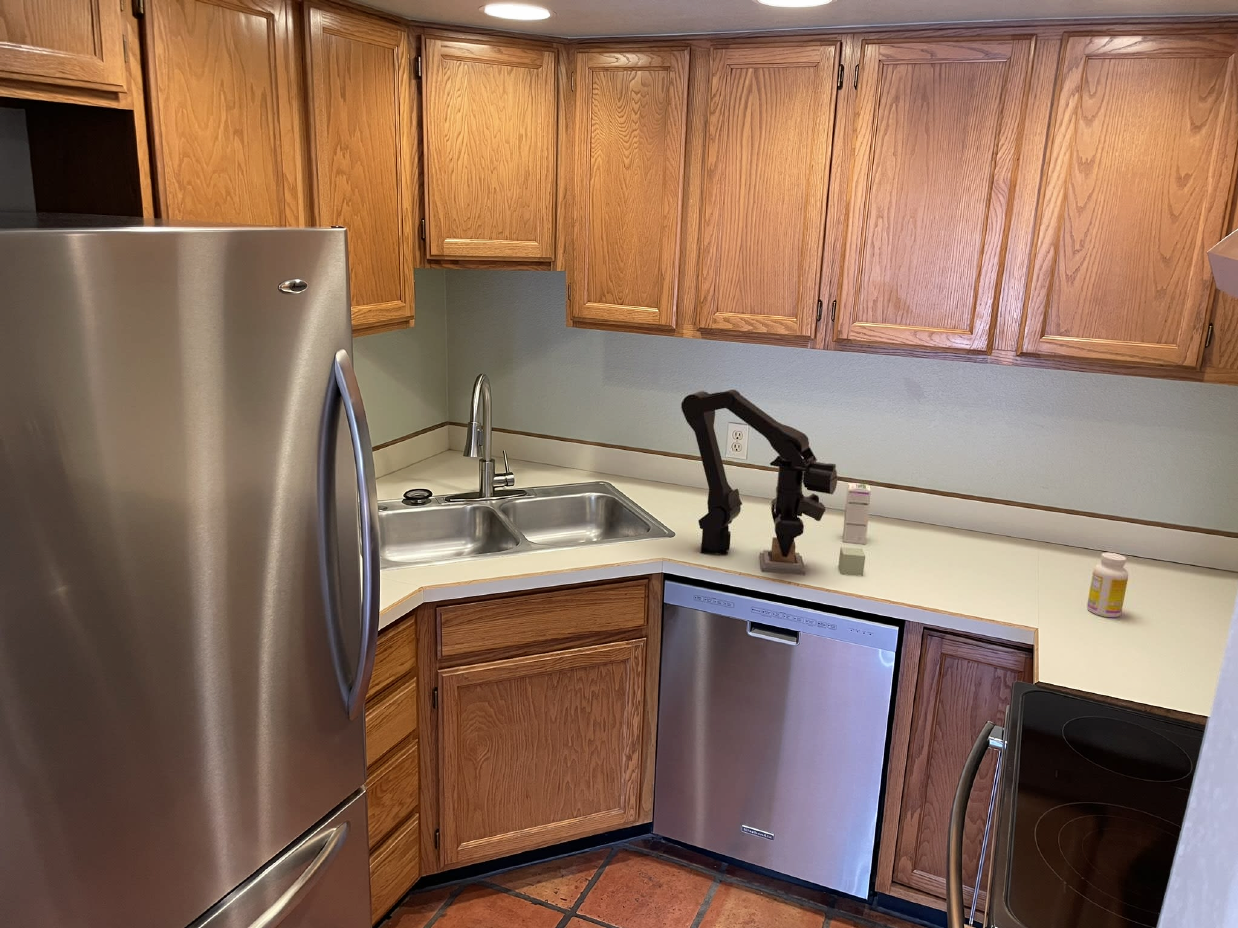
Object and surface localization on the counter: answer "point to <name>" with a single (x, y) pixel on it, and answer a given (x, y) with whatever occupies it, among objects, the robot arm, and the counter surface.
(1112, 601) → the supplement bottle
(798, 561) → the base plate
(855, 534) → the syrup box
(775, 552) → the walnut block
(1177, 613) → the counter surface
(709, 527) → the robot arm
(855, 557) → the sage block
